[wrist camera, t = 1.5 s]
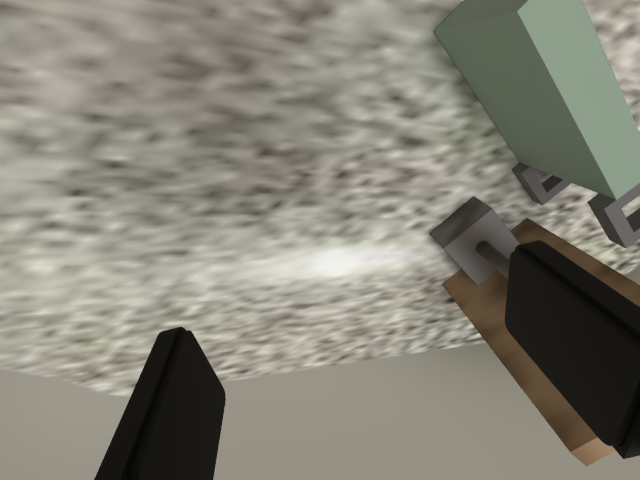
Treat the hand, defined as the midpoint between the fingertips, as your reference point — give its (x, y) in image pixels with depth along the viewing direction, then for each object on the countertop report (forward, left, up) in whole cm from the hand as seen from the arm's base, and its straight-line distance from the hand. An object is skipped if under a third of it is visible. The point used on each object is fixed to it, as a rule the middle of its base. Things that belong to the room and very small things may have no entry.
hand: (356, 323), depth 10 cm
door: (-16, +12, -24) cm, 31 cm away
